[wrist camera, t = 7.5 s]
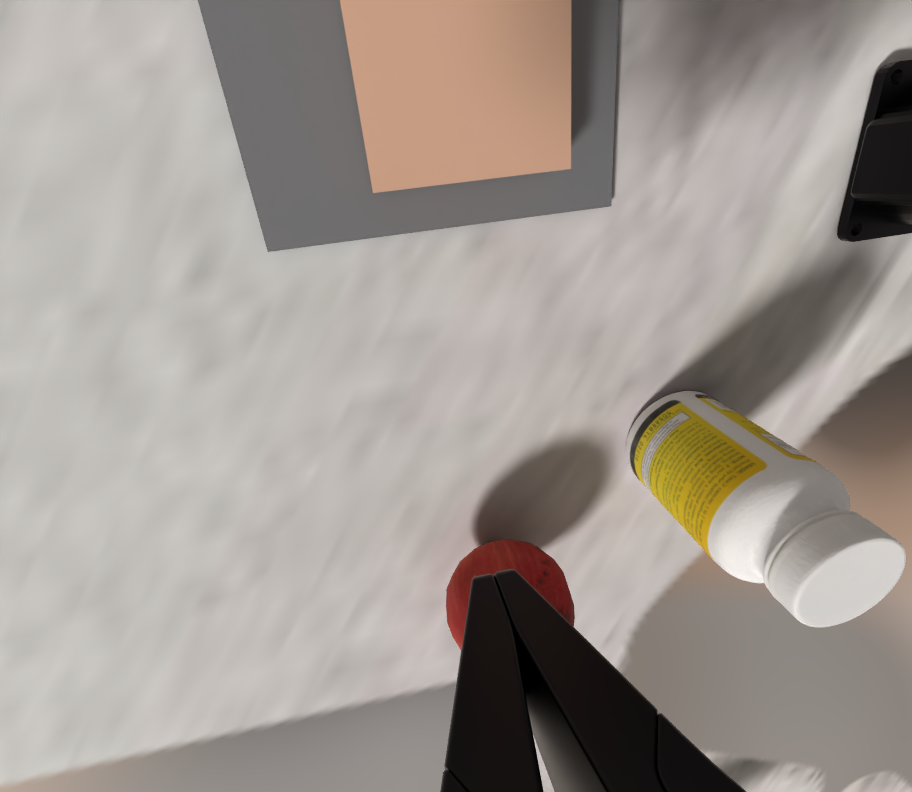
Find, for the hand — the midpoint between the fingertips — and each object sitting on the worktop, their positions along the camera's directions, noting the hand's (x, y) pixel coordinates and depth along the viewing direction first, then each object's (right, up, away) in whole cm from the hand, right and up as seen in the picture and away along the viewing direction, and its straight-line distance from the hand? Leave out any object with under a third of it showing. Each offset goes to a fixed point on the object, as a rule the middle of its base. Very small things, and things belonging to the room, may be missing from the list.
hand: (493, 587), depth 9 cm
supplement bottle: (+10, +2, +15) cm, 18 cm away
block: (-4, +14, +5) cm, 15 cm away
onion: (+1, -4, +16) cm, 17 cm away
